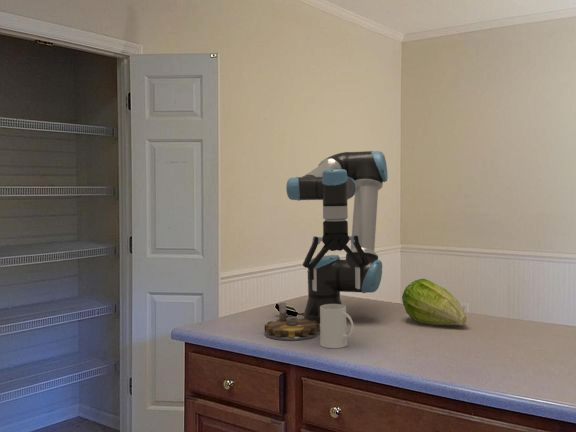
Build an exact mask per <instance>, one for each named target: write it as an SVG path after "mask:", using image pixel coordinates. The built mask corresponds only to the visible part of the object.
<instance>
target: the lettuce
mask: <svg viewBox="0 0 576 432" xmlns="http://www.w3.org/2000/svg"><path fill="white" fill-rule="evenodd" d="M401 301H402V304H403V307H404V309H405V312H406V314H407V315H408V316H409V317H410V318H411V319H413V320H414V321H417V322H419V323H421V324H426V325H432V326H434V325H435V326H454V325H455V326H457V325H458V326H463V325H465V323H466V322H467V319H468V318H467V315H466V313H465V311H464V309H463V307H462V306H461V304H460V301H459V300H458V299H457V298H456V297H455V296H454V295H452V294H451V292H450V291H448V290H447V288H445V287H441V285H439V284H436V283H435V282H432V281H431V280H428V279H426V278H420V279H416V280H414V281H412V282H410V283H409V284H408V285H407V286H405V288H404V290H403V293H402V296H401Z"/></svg>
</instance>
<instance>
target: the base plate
mask: <svg viewBox="0 0 576 432" xmlns="http://www.w3.org/2000/svg"><path fill="white" fill-rule="evenodd" d="M264 336H265V337H266V338H268V339H271V340H275V341H276V340H277V341H284V342H285V341H287V342H288V341H290V342H293V341H295V342H296V341H297V342H298V341H305V340H311V339H314V338H316V337H318V336H320V330H318V333H316V334H312V333H311V334H309V336H304V337H303V336H295V337H289V336H281V337H278V336H275V335H274V334H270V335H269V334H267V333H266V331H265V330H264Z"/></svg>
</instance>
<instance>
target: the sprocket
mask: <svg viewBox="0 0 576 432" xmlns="http://www.w3.org/2000/svg"><path fill="white" fill-rule="evenodd" d="M278 307H279V309H278V313H279V318H278V319H276V320H275V321H272V320H271V321H267V324H266V323H265V324H264V332H265V331H266V333H267V334H269V335H270V334H274V335H275V336H278V337H281V336H289V337H295V336H303V337H304V336H309V334H311V333H312V334H316V333H318V330H320V323H317V321H309V320H308V319H304V318H302V319H300V318H295V317H294V318H292V317H290V318H287V303H286V302H280V303H278Z"/></svg>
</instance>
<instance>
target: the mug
mask: <svg viewBox="0 0 576 432" xmlns="http://www.w3.org/2000/svg"><path fill="white" fill-rule="evenodd" d="M347 319H348V320H349V322H350V325H351V329H350V332H349V333H348V334H347ZM319 324H320V334H319V336H320V340H319V341H320V342H319V345H320V347H322V348H326V349H342V348H345V347H347V346H348V341H347V340H348V338H349V337H351V336H352V334H353V332H354V321H353V319H352V316H351V315H349V313H347V306H346V305H345V304H342V305H341V304H325V305H322V306H320V323H319Z"/></svg>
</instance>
